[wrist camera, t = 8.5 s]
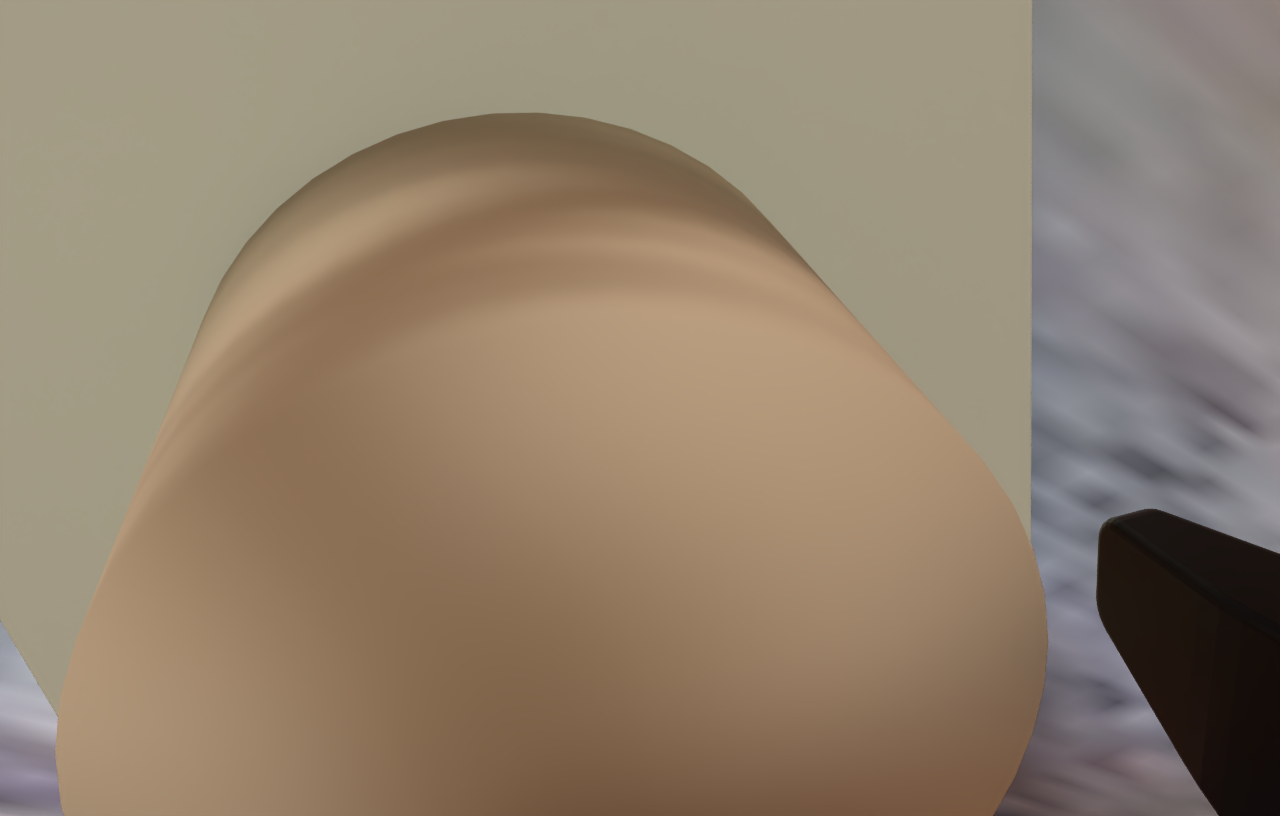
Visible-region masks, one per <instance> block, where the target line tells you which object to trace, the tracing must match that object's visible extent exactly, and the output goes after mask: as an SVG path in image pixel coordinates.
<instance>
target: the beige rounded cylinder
mask: <svg viewBox="0 0 1280 816" xmlns="http://www.w3.org/2000/svg"><path fill="white" fill-rule="evenodd" d="M1047 649H1048V633H1047V619H1046V605H1045V594H1044V590H1043V586H1042V582H1041V578H1040V574H1039V570H1038V566H1037V562H1036V558H1035V554H1034V550H1033V548H1032V545H1031V543H1030V541H1029V539H1028V536H1027V534H1026V532H1025V530H1024V527H1023V525H1022V523H1021V521H1020V518H1019V516H1018V514H1017V512H1016V510H1015V507H1014V505H1013V503H1012V502H1011V500H1010V499H1009V497H1008V496H1007V495H1006V493H1005V492H1004V490H1003V489H1002V487H1001V486H1000V484H999V483H998V481H997V480H996V478H995V477H994V475H993V474H992V473H991V471H990V470H989V468H988V467H987V465H986V464H985V462H984V461H983V460H982V459H981V458H980V456H979V455H978V454H977V453H976V452H975V451H974V450H973V449H972V448H971V446H970V445H969V444H968V443H967V442H966V441H965V440H964V439H963V437H962V436H961V435H960V434H959V433H958V432H957V431H956V430H955V428H954V427H953V426H952V425H951V424H950V423H949V422H948V421H947V419H946V418H945V417H944V416H943V415H942V414H941V413H940V412H939V411H938V409H937V408H936V407H935V406H934V405H933V404H932V403H931V402H930V400H929V399H928V398H927V397H926V396H925V395H924V394H923V393H922V391H921V390H920V389H919V388H918V387H917V386H916V385H915V384H914V382H913V381H912V380H911V379H910V378H909V377H908V376H907V375H906V374H905V372H904V371H903V370H902V369H901V368H900V367H899V366H898V365H897V363H896V362H895V361H894V360H893V359H892V358H891V357H890V356H889V354H888V353H887V352H886V351H885V350H884V349H883V348H882V347H881V345H880V344H879V343H878V342H877V341H876V340H875V339H874V338H873V337H872V335H871V334H870V333H869V332H868V331H867V330H866V329H865V328H864V326H863V325H862V324H861V323H860V322H859V321H858V320H857V319H856V317H855V316H854V315H853V314H852V313H851V312H850V311H849V310H848V308H847V307H846V306H845V305H844V304H843V303H842V302H841V301H840V300H839V298H838V297H837V296H836V295H835V294H834V293H833V292H832V291H831V289H830V288H829V287H828V286H827V285H826V284H825V283H824V282H823V280H822V279H821V278H820V277H819V276H818V275H817V274H816V273H815V271H814V270H813V269H812V268H811V267H810V266H809V265H808V264H807V263H806V261H805V260H804V259H803V258H802V257H801V256H800V255H799V254H798V252H797V251H796V250H795V249H794V248H793V247H792V246H791V245H790V243H789V242H788V241H787V240H786V239H785V238H784V237H783V236H782V234H781V233H780V232H779V231H778V230H777V229H776V228H775V227H774V226H773V224H772V223H771V222H770V221H769V220H768V219H767V218H766V217H765V216H764V215H763V214H762V213H761V212H760V211H759V210H758V209H757V208H756V206H755V205H754V204H753V203H752V202H751V201H750V200H749V199H748V198H747V197H746V196H745V195H744V194H743V193H742V192H741V191H740V190H738V189H737V188H736V187H734V186H733V185H732V184H731V183H729V182H728V181H727V180H725V179H724V178H723V177H722V176H720V175H719V174H718V173H716V172H715V171H714V170H713V169H711V168H710V167H709V166H707V165H705V164H703V163H702V162H700V161H698V160H696V159H695V158H693V157H691V156H689V155H688V154H686V153H684V152H682V151H681V150H679V149H677V148H675V147H674V146H672V145H669V144H667V143H664V142H662V141H659V140H657V139H654V138H652V137H649V136H647V135H644V134H642V133H639V132H637V131H634V130H632V129H629V128H625V127H621V126H617V125H613V124H609V123H605V122H601V121H597V120H593V119H589V118H584V117H575V116H566V115H557V114H548V113H493V114H485V115H478V116H472V117H465V118H459V119H452V120H446V121H441V122H438V123H434V124H431V125H428V126H424V127H421V128H417V129H414V130H410V131H407V132H404V133H400V134H397V135H395V136H392V137H390V138H388V139H386V140H383V141H381V142H379V143H377V144H374V145H372V146H370V147H368V148H365V149H363V150H361V151H358V152H356V153H354V154H352V155H350V156H349V157H347V158H346V159H344V160H342V161H341V162H339V163H337V164H336V165H334V166H333V167H331V168H329V169H328V170H326V171H325V172H323V173H321V174H320V175H318V176H316V177H315V178H313V179H312V180H311V181H309V182H308V183H307V184H306V185H305V186H303V187H302V188H301V189H300V190H299V191H297V192H296V193H295V194H294V195H293V196H291V197H290V198H289V199H288V200H286V201H285V202H284V203H283V204H282V205H280V206H279V207H278V208H277V209H276V210H275V211H274V212H273V213H272V214H271V215H270V217H269V218H268V219H267V220H266V221H265V222H264V223H263V224H262V225H261V227H260V228H259V229H258V230H257V231H256V232H255V233H254V234H253V235H252V236H251V238H250V239H249V240H248V241H247V242H246V243H245V245H244V246H243V248H242V249H241V251H240V252H239V254H238V255H237V257H236V258H235V260H234V261H233V263H232V264H231V266H230V267H229V269H228V270H227V272H226V273H225V275H224V276H223V278H222V280H221V282H220V284H219V286H218V288H217V290H216V292H215V295H214V297H213V299H212V301H211V303H210V305H209V307H208V310H207V312H206V314H205V316H204V318H203V321H202V323H201V326H200V328H199V331H198V333H197V336H196V338H195V341H194V344H193V346H192V349H191V351H190V354H189V356H188V359H187V361H186V364H185V366H184V369H183V371H182V374H181V376H180V379H179V381H178V384H177V386H176V389H175V391H174V394H173V397H172V399H171V402H170V404H169V407H168V409H167V412H166V414H165V417H164V419H163V422H162V424H161V427H160V429H159V432H158V434H157V437H156V439H155V442H154V444H153V447H152V449H151V452H150V455H149V457H148V460H147V462H146V465H145V467H144V470H143V472H142V475H141V477H140V480H139V482H138V485H137V487H136V490H135V492H134V495H133V497H132V500H131V502H130V505H129V508H128V510H127V513H126V515H125V518H124V520H123V523H122V525H121V528H120V530H119V533H118V535H117V538H116V540H115V543H114V545H113V548H112V550H111V553H110V555H109V558H108V560H107V563H106V566H105V568H104V571H103V573H102V576H101V578H100V581H99V583H98V586H97V588H96V591H95V593H94V596H93V598H92V601H91V603H90V606H89V608H88V611H87V613H86V616H85V619H84V621H83V624H82V626H81V629H80V631H79V634H78V636H77V639H76V641H75V645H74V648H73V652H72V656H71V659H70V663H69V667H68V670H67V674H66V677H65V681H64V685H63V688H62V692H61V696H60V703H59V715H58V726H57V738H56V750H55V755H56V764H57V773H58V783H59V792H60V801H61V807H62V810H63V814H64V816H993V815H994V814H995V812H996V810H997V808H998V806H999V805H1000V803H1001V801H1002V799H1003V797H1004V796H1005V794H1006V792H1007V790H1008V788H1009V787H1010V785H1011V783H1012V781H1013V780H1014V778H1015V776H1016V773H1017V771H1018V768H1019V766H1020V763H1021V761H1022V758H1023V756H1024V753H1025V751H1026V748H1027V746H1028V744H1029V741H1030V739H1031V736H1032V734H1033V730H1034V726H1035V722H1036V718H1037V714H1038V710H1039V706H1040V702H1041V698H1042V694H1043V690H1044V681H1045V671H1046V660H1047Z"/></svg>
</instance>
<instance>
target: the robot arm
mask: <svg viewBox="0 0 1280 816" xmlns="http://www.w3.org/2000/svg"><path fill="white" fill-rule="evenodd" d="M1096 600H1097V607H1098V612H1099V615H1100V618H1101V621H1102V623H1103V625H1104V627H1105V629H1106V631H1107V633H1108V635H1109V636H1110V638H1111V640H1112V641H1113V643H1114V645H1115V647H1116V648H1117V650H1118V652H1119V653H1120V655H1121V657H1122V658H1123V660H1124V662H1125V664H1126V665H1127V667H1128V669H1129V670H1130V672H1131V674H1132V676H1133V677H1134V679H1135V681H1136V682H1137V684H1138V686H1139V688H1140V689H1141V691H1142V693H1143V694H1144V696H1145V698H1146V699H1147V701H1148V703H1149V705H1150V706H1151V708H1152V710H1153V711H1154V713H1155V715H1156V717H1157V718H1158V720H1159V722H1160V723H1161V725H1162V727H1163V728H1164V730H1165V732H1166V734H1167V735H1168V737H1169V739H1170V740H1171V742H1172V744H1173V746H1174V747H1175V749H1176V751H1177V752H1178V754H1179V756H1180V757H1181V759H1182V761H1183V763H1184V764H1185V766H1186V767H1187V769H1188V771H1189V772H1190V774H1191V775H1192V777H1193V779H1194V780H1195V782H1196V783H1197V785H1198V787H1199V788H1200V790H1201V791H1202V792H1203V794H1204V795H1205V797H1206V798H1207V800H1208V801H1209V802H1210V804H1211V805H1212V807H1213V808H1214V809H1215V811H1216V812H1217V814H1218V815H1219V816H1280V554H1279V553H1276V552H1273V551H1271V550H1268V549H1265V548H1262V547H1260V546H1257V545H1254V544H1251V543H1249V542H1246V541H1243V540H1241V539H1238V538H1235V537H1232V536H1230V535H1227V534H1224V533H1221V532H1219V531H1216V530H1213V529H1210V528H1208V527H1205V526H1202V525H1199V524H1197V523H1194V522H1191V521H1189V520H1186V519H1183V518H1180V517H1178V516H1175V515H1172V514H1169V513H1167V512H1164V511H1161V510H1157V509H1144V510H1140V511H1136V512H1132V513H1128V514H1125V515H1121V516H1117V517H1113V518H1110V519H1108V520H1107V521H1106V522H1104V523H1103V525H1102V527H1101V529H1100V532H1099V538H1098V564H1097V590H1096Z"/></svg>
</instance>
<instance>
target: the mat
mask: <svg viewBox="0 0 1280 816" xmlns="http://www.w3.org/2000/svg"><path fill="white" fill-rule="evenodd" d="M493 113H548V114H557V115H566V116H575V117H584V118H589V119H593V120H597V121H601V122H605V123H609V124H613V125H617V126H621V127H625V128H629V129H632V130H634V131H637V132H639V133H642V134H644V135H647V136H649V137H652V138H654V139H657V140H659V141H662V142H664V143H667V144H669V145H672V146H674V147H675V148H677V149H679V150H681V151H682V152H684V153H686V154H688V155H689V156H691V157H693V158H695V159H696V160H698V161H700V162H702V163H703V164H705V165H707V166H709V167H710V168H711V169H713V170H714V171H715V172H716V173H718V174H719V175H720V176H722V177H723V178H724V179H725V180H727V181H728V182H729V183H731V184H732V185H733V186H734V187H736V188H737V189H738V190H740V191H741V192H742V193H743V194H744V195H745V196H746V197H747V198H748V199H749V200H750V201H751V202H752V203H753V204H754V205H755V206H756V208H757V209H758V210H759V211H760V212H761V213H762V214H763V215H764V216H765V217H766V218H767V219H768V220H769V221H770V222H771V223H772V224H773V226H774V227H775V228H776V229H777V230H778V231H779V232H780V233H781V234H782V236H783V237H784V238H785V239H786V240H787V241H788V242H789V243H790V245H791V246H792V247H793V248H794V249H795V250H796V251H797V252H798V254H799V255H800V256H801V257H802V258H803V259H804V260H805V261H806V263H807V264H808V265H809V266H810V267H811V268H812V269H813V270H814V271H815V273H816V274H817V275H818V276H819V277H820V278H821V279H822V280H823V282H824V283H825V284H826V285H827V286H828V287H829V288H830V289H831V291H832V292H833V293H834V294H835V295H836V296H837V297H838V298H839V300H840V301H841V302H842V303H843V304H844V305H845V306H846V307H847V308H848V310H849V311H850V312H851V313H852V314H853V315H854V316H855V317H856V319H857V320H858V321H859V322H860V323H861V324H862V325H863V326H864V328H865V329H866V330H867V331H868V332H869V333H870V334H871V335H872V337H873V338H874V339H875V340H876V341H877V342H878V343H879V344H880V345H881V347H882V348H883V349H884V350H885V351H886V352H887V353H888V354H889V356H890V357H891V358H892V359H893V360H894V361H895V362H896V363H897V365H898V366H899V367H900V368H901V369H902V370H903V371H904V372H905V374H906V375H907V376H908V377H909V378H910V379H911V380H912V381H913V382H914V384H915V385H916V386H917V387H918V388H919V389H920V390H921V391H922V393H923V394H924V395H925V396H926V397H927V398H928V399H929V400H930V402H931V403H932V404H933V405H934V406H935V407H936V408H937V409H938V411H939V412H940V413H941V414H942V415H943V416H944V417H945V418H946V419H947V421H948V422H949V423H950V424H951V425H952V426H953V427H954V428H955V430H956V431H957V432H958V433H959V434H960V435H961V436H962V437H963V439H964V440H965V441H966V442H967V443H968V444H969V445H970V446H971V448H972V449H973V450H974V451H975V452H976V453H977V454H978V455H979V456H980V458H981V459H982V460H983V461H984V462H985V464H986V465H987V467H988V468H989V470H990V471H991V473H992V474H993V475H994V477H995V478H996V480H997V481H998V483H999V484H1000V486H1001V487H1002V489H1003V490H1004V492H1005V493H1006V495H1007V496H1008V497H1009V499H1010V500H1011V502H1012V503H1013V505H1014V507H1015V510H1016V512H1017V514H1018V516H1019V518H1020V521H1021V523H1022V525H1023V527H1024V530H1025V532H1026V534H1027V536H1028V539H1029V541H1030V543H1031V255H1032V0H0V620H1V622H2V624H3V625H4V627H5V629H6V630H7V632H8V634H9V635H10V637H11V639H12V641H13V642H14V644H15V646H16V647H17V649H18V651H19V652H20V654H21V656H22V657H23V659H24V661H25V662H26V664H27V666H28V667H29V669H30V671H31V672H32V674H33V676H34V678H35V679H36V681H37V683H38V684H39V686H40V688H41V689H42V691H43V693H44V694H45V696H46V698H47V699H48V701H49V703H50V704H51V706H52V708H53V709H54V711H55V713H56V715H57V716H58V715H59V703H60V696H61V692H62V688H63V685H64V681H65V677H66V674H67V670H68V667H69V663H70V659H71V656H72V652H73V648H74V645H75V641H76V639H77V636H78V634H79V631H80V629H81V626H82V624H83V621H84V619H85V616H86V613H87V611H88V608H89V606H90V603H91V601H92V598H93V596H94V593H95V591H96V588H97V586H98V583H99V581H100V578H101V576H102V573H103V571H104V568H105V566H106V563H107V560H108V558H109V555H110V553H111V550H112V548H113V545H114V543H115V540H116V538H117V535H118V533H119V530H120V528H121V525H122V523H123V520H124V518H125V515H126V513H127V510H128V508H129V505H130V502H131V500H132V497H133V495H134V492H135V490H136V487H137V485H138V482H139V480H140V477H141V475H142V472H143V470H144V467H145V465H146V462H147V460H148V457H149V455H150V452H151V449H152V447H153V444H154V442H155V439H156V437H157V434H158V432H159V429H160V427H161V424H162V422H163V419H164V417H165V414H166V412H167V409H168V407H169V404H170V402H171V399H172V397H173V394H174V391H175V389H176V386H177V384H178V381H179V379H180V376H181V374H182V371H183V369H184V366H185V364H186V361H187V359H188V356H189V354H190V351H191V349H192V346H193V344H194V341H195V338H196V336H197V333H198V331H199V328H200V326H201V323H202V321H203V318H204V316H205V314H206V312H207V310H208V307H209V305H210V303H211V301H212V299H213V297H214V295H215V292H216V290H217V288H218V286H219V284H220V282H221V280H222V278H223V276H224V275H225V273H226V272H227V270H228V269H229V267H230V266H231V264H232V263H233V261H234V260H235V258H236V257H237V255H238V254H239V252H240V251H241V249H242V248H243V246H244V245H245V243H246V242H247V241H248V240H249V239H250V238H251V236H252V235H253V234H254V233H255V232H256V231H257V230H258V229H259V228H260V227H261V225H262V224H263V223H264V222H265V221H266V220H267V219H268V218H269V217H270V215H271V214H272V213H273V212H274V211H275V210H276V209H277V208H278V207H279V206H280V205H282V204H283V203H284V202H285V201H286V200H288V199H289V198H290V197H291V196H293V195H294V194H295V193H296V192H297V191H299V190H300V189H301V188H302V187H303V186H305V185H306V184H307V183H308V182H309V181H311V180H312V179H313V178H315V177H316V176H318V175H320V174H321V173H323V172H325V171H326V170H328V169H329V168H331V167H333V166H334V165H336V164H337V163H339V162H341V161H342V160H344V159H346V158H347V157H349V156H350V155H352V154H354V153H356V152H358V151H361V150H363V149H365V148H368V147H370V146H372V145H374V144H377V143H379V142H381V141H383V140H386V139H388V138H390V137H392V136H395V135H397V134H400V133H404V132H407V131H410V130H414V129H417V128H421V127H424V126H428V125H431V124H434V123H438V122H441V121H446V120H452V119H459V118H465V117H472V116H478V115H485V114H493Z"/></svg>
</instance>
